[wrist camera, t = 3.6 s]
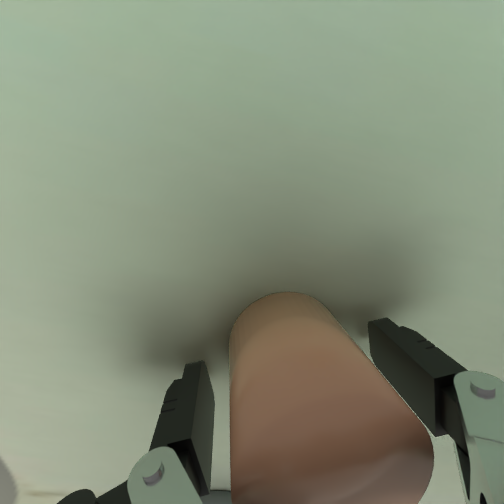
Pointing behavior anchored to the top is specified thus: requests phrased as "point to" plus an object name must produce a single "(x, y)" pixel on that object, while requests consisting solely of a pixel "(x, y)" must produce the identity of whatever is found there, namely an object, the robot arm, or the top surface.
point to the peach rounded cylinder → (316, 414)
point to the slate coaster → (217, 498)
